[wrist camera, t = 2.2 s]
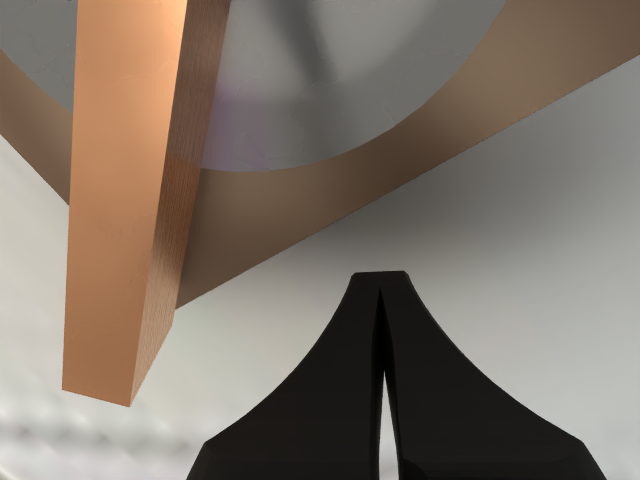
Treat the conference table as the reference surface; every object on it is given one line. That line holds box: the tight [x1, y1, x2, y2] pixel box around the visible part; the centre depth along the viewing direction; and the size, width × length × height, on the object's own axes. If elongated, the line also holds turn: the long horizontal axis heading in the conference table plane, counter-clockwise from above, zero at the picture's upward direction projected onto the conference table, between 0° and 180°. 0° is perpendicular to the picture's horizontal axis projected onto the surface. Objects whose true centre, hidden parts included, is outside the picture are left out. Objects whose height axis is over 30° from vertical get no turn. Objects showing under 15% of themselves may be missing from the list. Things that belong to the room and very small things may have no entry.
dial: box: [0, 0, 506, 407], centre depth 10 cm, size 17×12×4 cm
